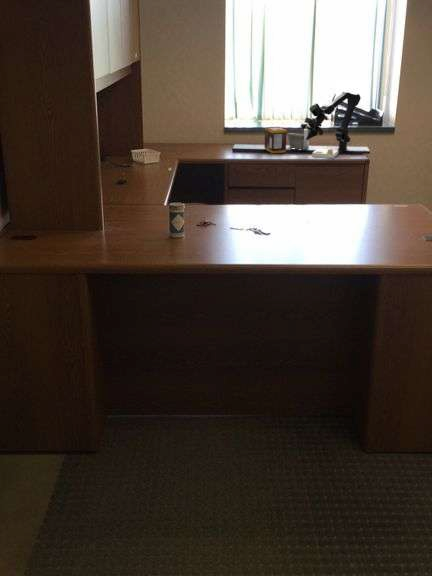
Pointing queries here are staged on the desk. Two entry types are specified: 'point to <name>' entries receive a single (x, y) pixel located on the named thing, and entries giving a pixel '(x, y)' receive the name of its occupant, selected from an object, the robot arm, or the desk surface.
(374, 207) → the desk surface
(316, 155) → the gauge board
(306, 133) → the steel pin
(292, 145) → the digital clock
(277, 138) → the supplement box
